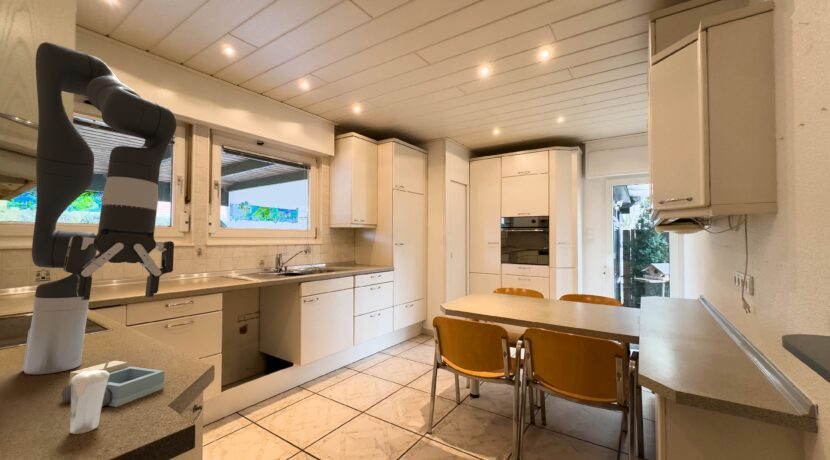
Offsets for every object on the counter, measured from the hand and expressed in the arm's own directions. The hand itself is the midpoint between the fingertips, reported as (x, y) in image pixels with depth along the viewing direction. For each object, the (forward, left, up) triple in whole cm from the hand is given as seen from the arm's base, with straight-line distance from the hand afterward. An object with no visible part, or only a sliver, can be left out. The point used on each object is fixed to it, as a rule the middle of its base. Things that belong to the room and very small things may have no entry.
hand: (119, 298), depth 58 cm
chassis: (-11, +10, -21) cm, 25 cm away
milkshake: (-1, -2, -21) cm, 21 cm away
